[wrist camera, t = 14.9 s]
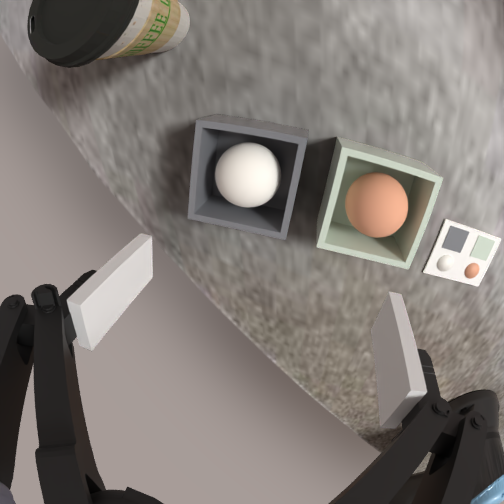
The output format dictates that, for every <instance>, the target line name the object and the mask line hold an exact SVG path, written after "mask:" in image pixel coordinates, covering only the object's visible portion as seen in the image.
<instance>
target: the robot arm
mask: <svg viewBox="0 0 504 504" xmlns="http://www.w3.org/2000/svg"><path fill="white" fill-rule="evenodd" d="M152 278H153V265H152V236H149V235H145V234H139V235H138V236H137V237H135V238H134V239H133V240H132V241H131V242H130V243H129V244H127V245H126V246H125V247H124V248H123V249H121V250H120V251H119V252H118V253H117V254H116V255H115V256H114V257H112V259H110V260H109V261H108V262H107V263H106V264H105V265H103V266H102V267H101V268H100V269H99V270H98V271H95V270H91V271H89V272H87V273H84V274H83V275H82V276H81V277H80V278H79V279H78V280H77V281H75V282H74V283H73V285H71V286H70V287H69V288H68V289H67V290H65V291H64V292H63V293H62V294H61V295H60V296H59V294H58V290H57V288H56V287H55V286H54V285H51V284H44V285H40V286H38V287H37V288H35V289H34V290H33V291H32V294H31V297H32V300H33V303H34V305H28V304H26V303H25V300H24V297H22V296H21V295H12V296H9V297H7V298H6V299H5V300H4V301H3V302H2V304H1V306H0V504H16V503H15V501H14V500H13V495H12V493H11V491H10V488H11V483H12V479H13V472H14V466H15V456H16V448H17V441H18V434H19V427H20V422H21V416H22V411H23V405H24V400H25V395H26V391H27V387H28V382H29V378H30V374H31V370H32V366H33V362H34V393H35V409H36V419H37V430H38V438H39V448H37V449H36V452H35V457H36V464H37V470H38V475H39V481H40V486H41V490H42V495H43V499H44V503H45V504H163V503H162V502H160V501H159V500H157V499H155V498H153V497H151V496H148V495H146V494H144V493H141V492H139V491H136V490H134V489H132V488H129V487H127V488H126V490H125V491H123V490H106V489H105V486H104V483H103V481H102V479H101V477H100V475H99V473H98V470H97V467H96V463H95V459H94V456H93V452H92V448H91V445H90V440H89V436H88V431H87V427H86V422H85V418H84V413H83V408H82V402H81V396H80V391H79V385H78V377H77V370H76V364H75V354H74V346H73V343H72V342H73V340H74V339H75V338H76V337H77V340H78V343H79V345H80V346H81V347H83V348H86V349H88V350H90V351H93V349H94V348H95V347H96V346H97V344H98V343H99V342H100V340H101V339H102V338H103V337H104V335H105V334H106V333H107V332H108V330H109V329H110V328H111V327H112V325H113V324H114V323H115V322H116V321H117V319H118V318H119V317H120V316H121V314H122V313H123V312H124V311H125V310H126V308H127V307H128V306H129V305H130V303H131V302H132V301H133V300H134V299H135V298H136V296H137V295H138V294H139V293H140V292H141V290H142V289H143V288H144V287H145V286H146V285H147V283H148V282H149V281H150V280H151V279H152ZM371 334H372V342H373V350H374V359H375V368H376V379H377V390H378V402H379V417H380V428H390V429H396V427H397V426H398V425H399V424H400V423H401V422H402V428H403V429H402V430H401V431H400V432H399V433H398V434H397V436H396V437H395V438H394V439H393V440H392V442H391V443H390V444H389V445H388V446H387V447H386V448H385V449H384V451H383V452H382V453H381V454H380V455H379V456H378V457H377V458H376V459H375V460H374V461H373V462H372V463H371V464H370V465H369V466H368V467H367V468H366V470H364V471H363V472H362V473H361V474H360V475H359V476H358V477H357V478H356V479H355V480H354V481H353V482H352V483H351V484H350V485H349V486H348V487H347V488H346V489H345V490H344V491H342V492H341V493H340V494H339V495H338V496H337V497H336V498H334V499H333V500H332V501H331V502H330V503H329V504H499V503H501V502H502V501H503V500H504V452H503V447H502V443H501V440H500V435H499V431H498V427H499V413H498V412H499V401H498V398H497V395H496V393H495V392H493V391H490V390H480V391H475V392H471V393H468V394H466V395H463V396H461V397H459V398H457V399H455V400H453V401H451V402H449V403H448V402H447V401H446V400H445V399H443V398H441V396H440V392H439V388H438V384H437V380H436V376H435V375H434V374H435V372H434V368H433V364H432V361H431V358H430V356H429V355H428V353H427V352H426V351H425V350H421V349H417V346H416V343H415V339H414V335H413V332H412V328H411V325H410V321H409V318H408V314H407V311H406V308H405V304H404V301H403V298H402V295H401V294H398V293H394V292H388V294H387V296H386V299H385V301H384V303H383V305H382V308H381V310H380V312H379V314H378V316H377V318H376V320H375V322H374V324H373V327H372V329H371ZM428 452H431V453H432V454H431V457H430V459H429V462H428V465H427V468H426V470H425V471H423V472H419V473H415V474H413V472H414V471H415V470H416V468H417V467H418V466H419V464H420V463H421V462H422V460H423V459H424V458H425V456H426V455H427V453H428Z"/></svg>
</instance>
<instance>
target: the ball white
mask: <svg viewBox="0 0 504 504" xmlns="http://www.w3.org/2000/svg"><path fill="white" fill-rule="evenodd" d="M215 180H216V184H217V187H218V189H219V191H220V193H221V194H222V195H223V197H224V198H225V199H226V200H228V201H229V202H231V203H232V204H234V205H237V206H240V207H248V208H249V207H256V206H260V205H262V204H264V203H266V202H267V201H269V200H270V199H271V198H272V197H273V196H274V195H275V193H276V192H277V190H278V188H279V186H280V182H281V168H280V164H279V162H278V160H277V158H276V156H275V155H274V154H273V153H272V152H271V151H270V150H269V149H268V148H266V147H264V146H262V145H260V144H257V143H251V142H245V143H240V144H237V145H234V146H232V147H230V148H229V149H228V150H226V151H225V152H224V153H223V154H222V156H221V157H220V159H219V161H218V163H217V166H216V170H215Z"/></svg>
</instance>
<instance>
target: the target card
mask: <svg viewBox="0 0 504 504" xmlns="http://www.w3.org/2000/svg"><path fill="white" fill-rule="evenodd" d="M500 241H501V238H498V237H496V236H493V235H490V234H488V233H485V232H482V231H480V230H477V229H474V228H471V227H468V226H465V225H463V224H460V223H457V222H454V221H451V220H448V219H445V221H444V224H443V226H442V229H441V231H440V234H439V236H438V239H437V241H436V243H435V246H434V248H433V250H432V253H431V255H430V257H429V260H428V262H427V264H426V266H425V268H424V271H423V273H427V274H431V275H435V276H439V277H443V278H447V279H451V280H455V281H459V282H463V283H466V284H470V285H474V286H479V284H480V282H481V280H482V278H483V276H484V275H485V273H486V271H487V269H488V267H489V265H490V263H491V260H492V258H493V256H494V254H495V252H496V250H497V248H498V245H499V243H500Z"/></svg>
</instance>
